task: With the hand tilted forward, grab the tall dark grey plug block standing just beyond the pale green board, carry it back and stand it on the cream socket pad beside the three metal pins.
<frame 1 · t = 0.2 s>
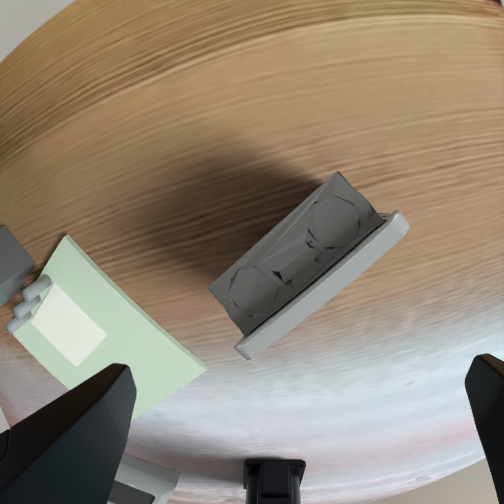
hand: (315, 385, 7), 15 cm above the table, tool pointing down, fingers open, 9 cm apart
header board: (81, 336, 25), on the table
electrical switch: (298, 238, 21), on the table
plug block: (11, 260, 23), on the table
grey beveled box: (134, 478, 33), on the table
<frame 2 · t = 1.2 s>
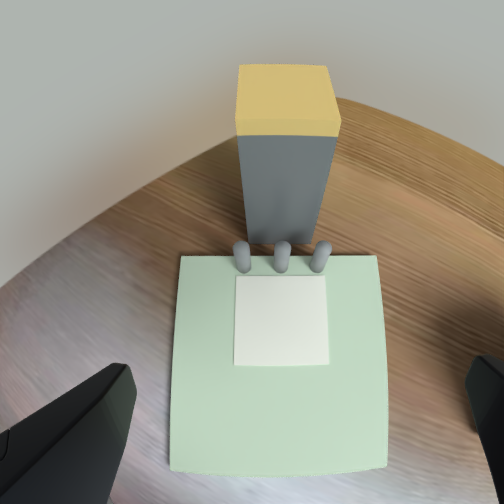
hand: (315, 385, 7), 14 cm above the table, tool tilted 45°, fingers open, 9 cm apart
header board: (281, 343, 21), on the table
plug block: (279, 217, 25), on the table
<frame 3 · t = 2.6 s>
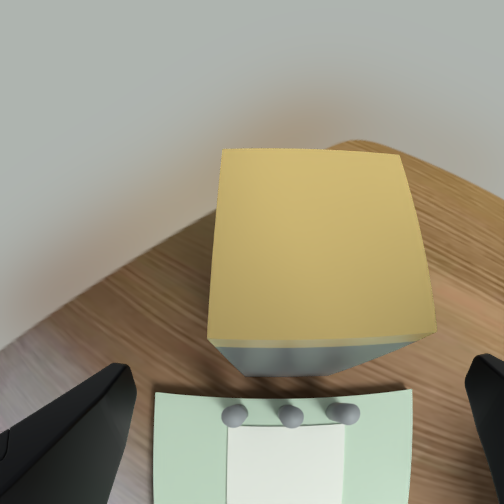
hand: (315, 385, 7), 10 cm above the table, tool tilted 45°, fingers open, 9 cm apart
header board: (284, 499, 13), on the table
plug block: (286, 336, 17), on the table
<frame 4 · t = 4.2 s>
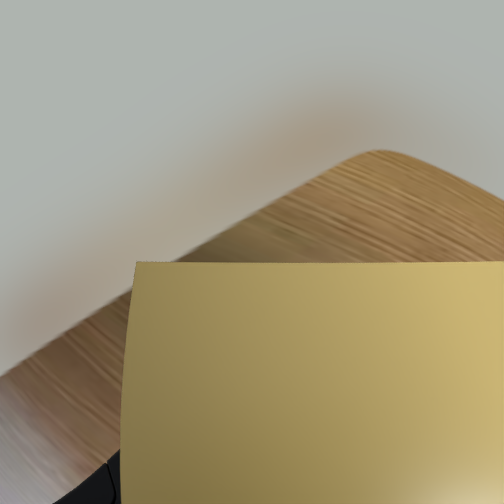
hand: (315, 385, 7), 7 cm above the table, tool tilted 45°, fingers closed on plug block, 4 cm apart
plug block: (291, 419, 12), on the table, touching gripper
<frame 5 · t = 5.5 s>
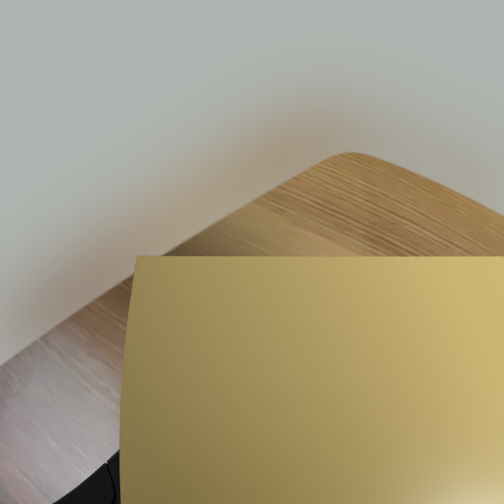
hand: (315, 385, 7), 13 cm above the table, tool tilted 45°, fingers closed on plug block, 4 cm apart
plug block: (291, 418, 12), point 6 cm above the table, touching gripper
when the fingers open (8 cm above the table, at t = 7.0 s): plug block stays where it is, resting on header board.
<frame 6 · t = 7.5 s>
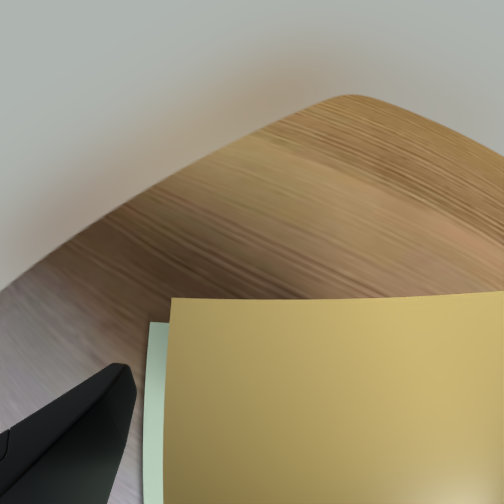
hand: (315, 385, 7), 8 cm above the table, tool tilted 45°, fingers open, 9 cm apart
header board: (288, 445, 13), on the table
plug block: (290, 417, 13), point 1 cm above the table, touching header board
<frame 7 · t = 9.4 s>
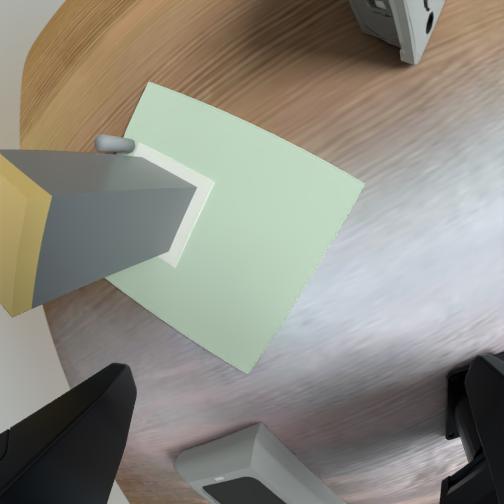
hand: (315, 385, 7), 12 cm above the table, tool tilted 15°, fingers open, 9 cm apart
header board: (178, 214, 20), on the table
electrical switch: (397, 4, 14), on the table
plug block: (154, 203, 20), point 1 cm above the table, touching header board
grey beveled box: (272, 483, 24), on the table
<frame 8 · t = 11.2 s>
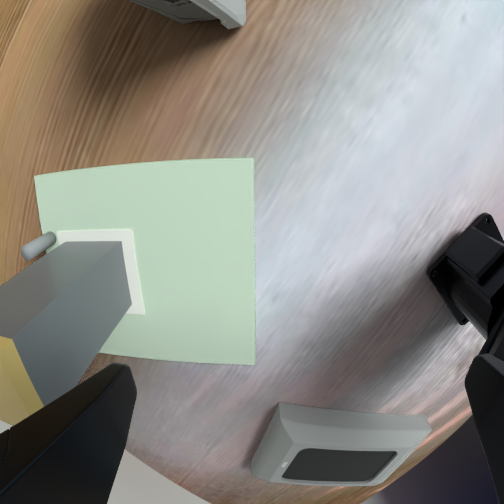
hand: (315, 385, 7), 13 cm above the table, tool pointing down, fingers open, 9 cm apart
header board: (121, 269, 21), on the table
plug block: (97, 272, 20), point 1 cm above the table, touching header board
grey beveled box: (338, 438, 27), on the table
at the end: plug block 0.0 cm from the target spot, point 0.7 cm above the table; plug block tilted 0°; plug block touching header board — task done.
